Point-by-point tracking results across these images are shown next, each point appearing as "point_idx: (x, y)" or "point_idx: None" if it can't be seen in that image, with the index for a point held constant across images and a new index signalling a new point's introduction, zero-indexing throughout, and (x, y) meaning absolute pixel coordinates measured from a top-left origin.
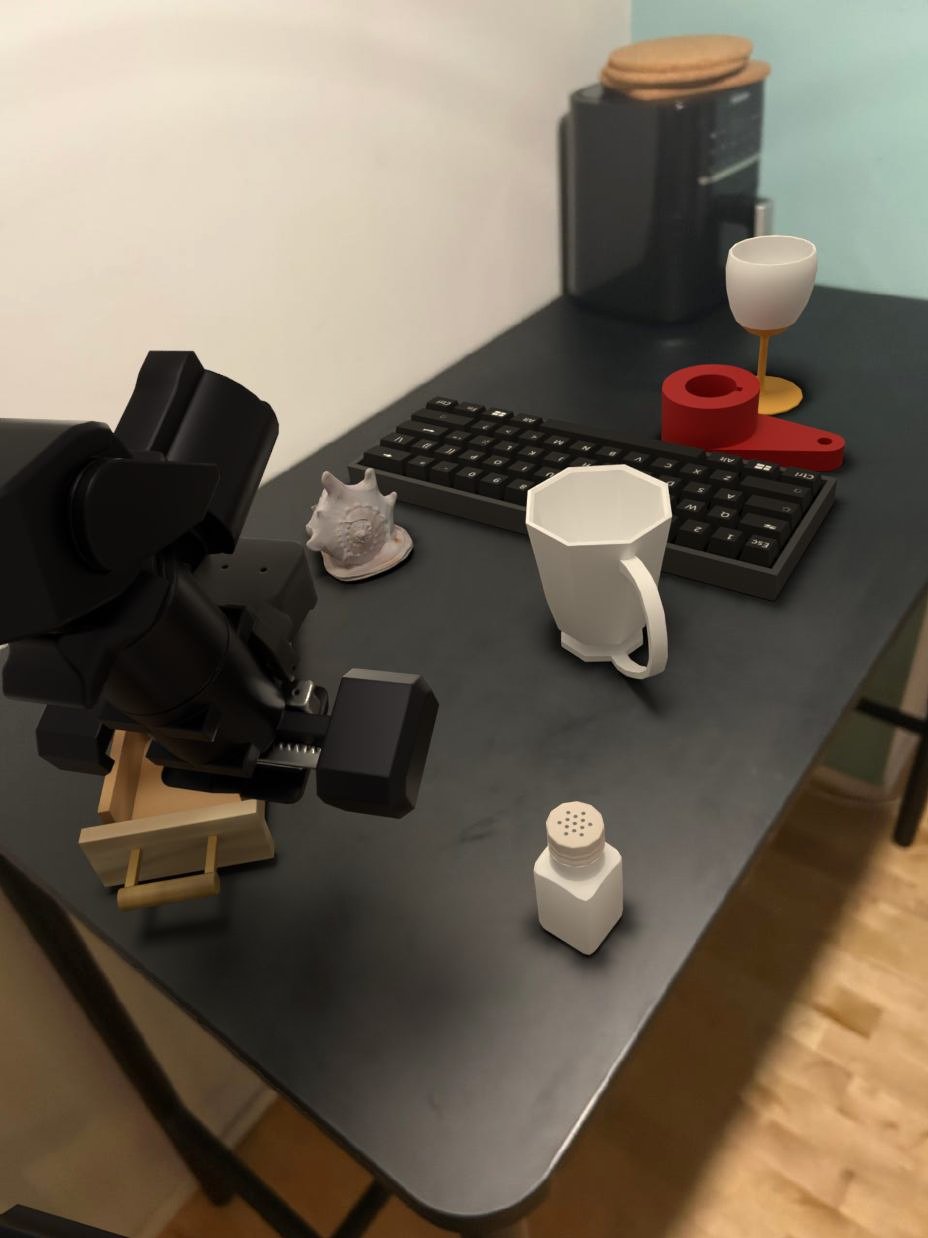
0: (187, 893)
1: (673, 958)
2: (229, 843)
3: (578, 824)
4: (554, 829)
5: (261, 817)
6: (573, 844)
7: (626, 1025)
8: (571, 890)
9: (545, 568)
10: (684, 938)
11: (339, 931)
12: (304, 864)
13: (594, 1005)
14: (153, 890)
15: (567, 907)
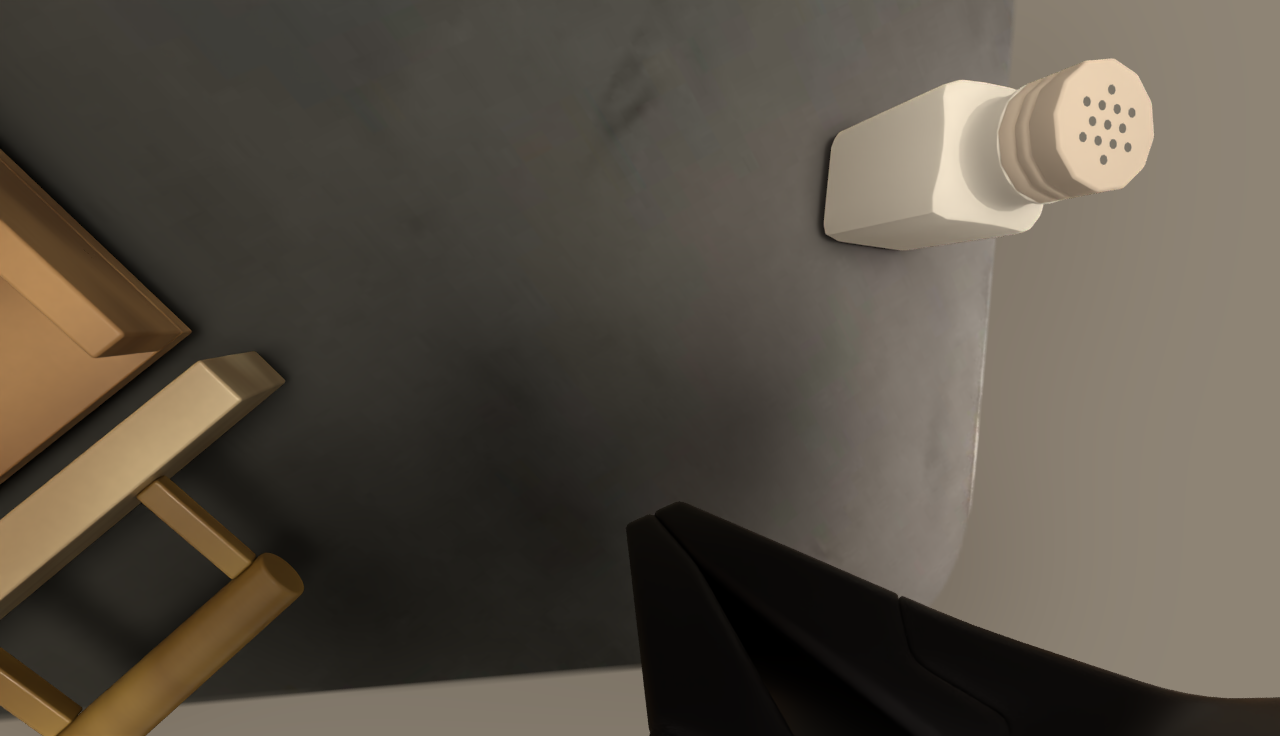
0: (243, 645)
1: None
2: (189, 454)
3: (1114, 123)
4: (1083, 160)
5: (237, 374)
6: (1125, 179)
7: (976, 315)
8: (1015, 225)
9: None
10: None
11: (526, 424)
12: (347, 342)
13: (933, 311)
14: (153, 707)
15: (962, 235)
